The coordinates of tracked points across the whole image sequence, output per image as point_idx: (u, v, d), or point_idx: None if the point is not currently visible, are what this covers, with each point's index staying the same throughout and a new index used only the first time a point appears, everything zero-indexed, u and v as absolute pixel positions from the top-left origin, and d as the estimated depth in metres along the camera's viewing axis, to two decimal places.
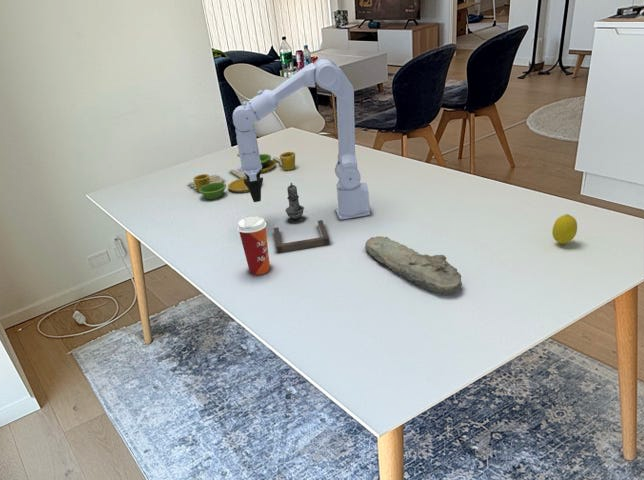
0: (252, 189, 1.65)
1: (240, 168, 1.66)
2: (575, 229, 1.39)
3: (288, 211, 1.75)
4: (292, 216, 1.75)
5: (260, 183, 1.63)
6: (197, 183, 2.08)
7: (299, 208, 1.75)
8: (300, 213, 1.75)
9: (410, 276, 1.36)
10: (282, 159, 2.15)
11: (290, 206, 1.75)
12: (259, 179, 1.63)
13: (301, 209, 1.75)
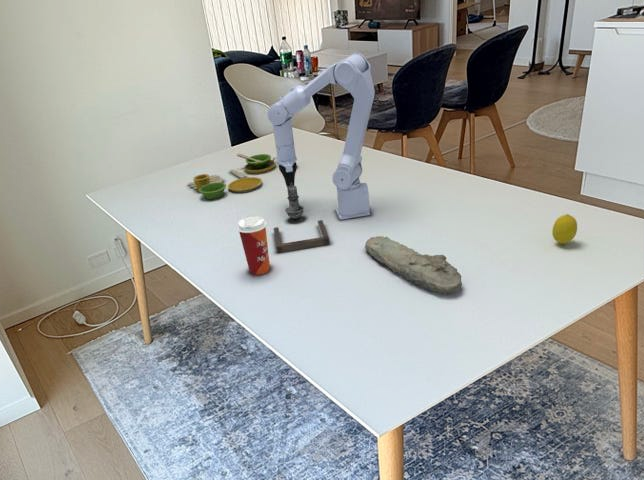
0: (286, 176, 1.78)
1: (276, 160, 1.75)
2: (575, 229, 1.39)
3: (288, 211, 1.75)
4: (292, 216, 1.75)
5: (294, 170, 1.75)
6: (197, 183, 2.08)
7: (299, 208, 1.75)
8: (300, 213, 1.75)
9: (410, 276, 1.36)
10: None
11: (290, 206, 1.75)
12: (293, 167, 1.75)
13: (301, 209, 1.75)
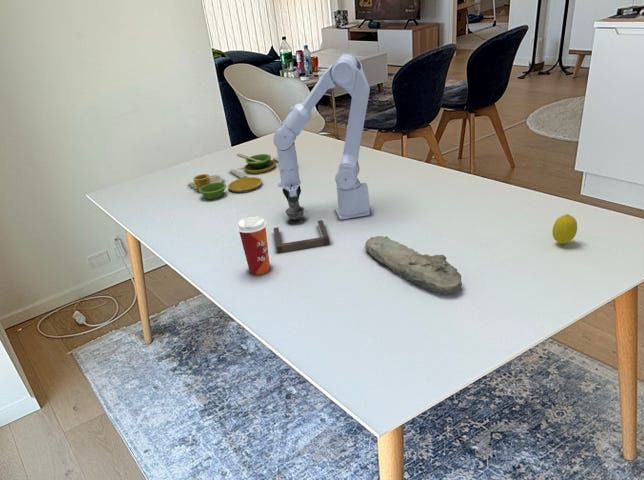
0: None
1: (280, 184, 1.74)
2: (575, 229, 1.39)
3: (288, 212, 1.75)
4: (292, 217, 1.75)
5: (298, 194, 1.75)
6: (197, 183, 2.08)
7: (299, 209, 1.74)
8: (300, 214, 1.75)
9: (410, 276, 1.36)
10: None
11: (290, 207, 1.74)
12: (297, 190, 1.74)
13: (301, 210, 1.74)
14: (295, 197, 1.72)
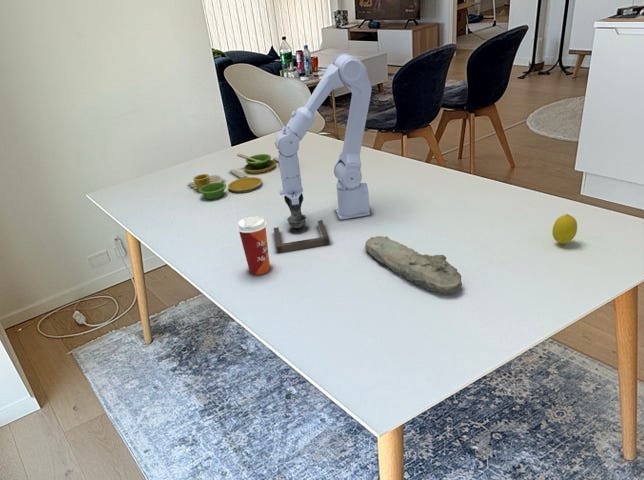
0: None
1: (281, 191, 1.69)
2: (575, 229, 1.39)
3: (290, 221, 1.69)
4: (294, 226, 1.69)
5: (300, 202, 1.69)
6: (197, 183, 2.08)
7: (301, 218, 1.69)
8: (302, 223, 1.69)
9: (410, 276, 1.36)
10: None
11: (292, 215, 1.69)
12: (299, 198, 1.69)
13: (303, 219, 1.69)
14: (297, 205, 1.67)
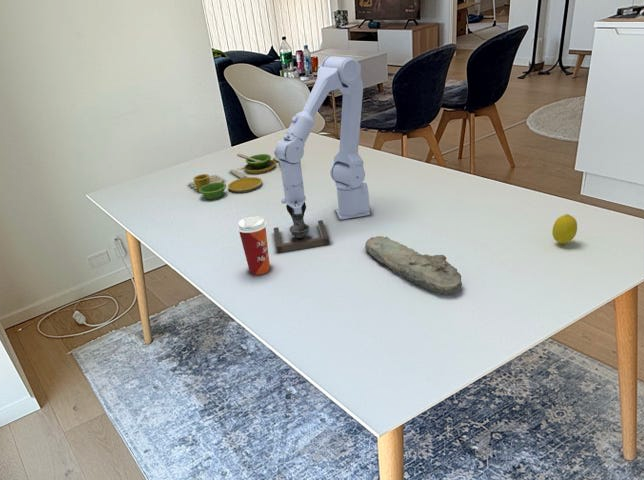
0: None
1: (283, 200, 1.63)
2: (575, 229, 1.39)
3: (292, 230, 1.63)
4: (297, 235, 1.63)
5: (303, 211, 1.64)
6: (197, 183, 2.08)
7: (304, 227, 1.63)
8: (305, 233, 1.63)
9: (410, 276, 1.36)
10: None
11: (294, 225, 1.63)
12: (302, 207, 1.63)
13: (306, 228, 1.63)
14: (300, 214, 1.61)
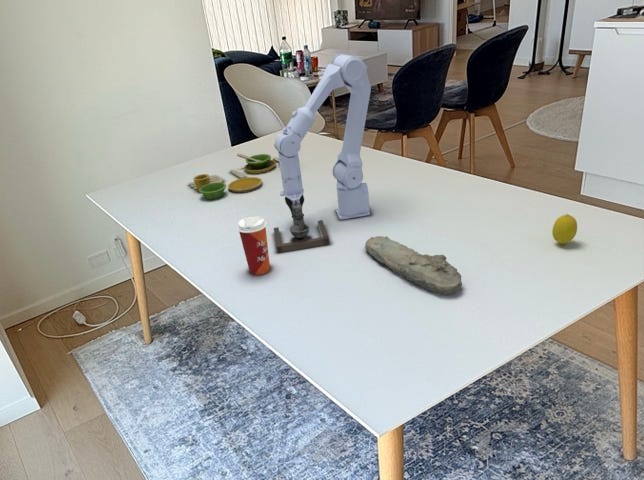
0: None
1: (282, 192, 1.67)
2: (575, 229, 1.39)
3: (292, 230, 1.63)
4: (297, 236, 1.63)
5: (301, 203, 1.67)
6: (197, 183, 2.08)
7: (304, 227, 1.63)
8: (305, 233, 1.63)
9: (410, 276, 1.36)
10: None
11: (294, 225, 1.63)
12: (300, 199, 1.67)
13: (306, 228, 1.63)
14: (300, 214, 1.61)
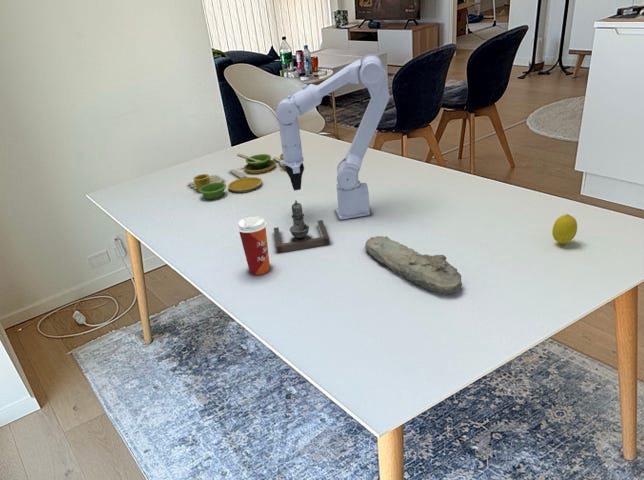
0: (293, 178, 1.71)
1: (282, 161, 1.68)
2: (575, 229, 1.39)
3: (292, 230, 1.63)
4: (297, 236, 1.63)
5: (301, 172, 1.68)
6: (197, 183, 2.08)
7: (304, 227, 1.63)
8: (305, 233, 1.63)
9: (410, 276, 1.36)
10: (282, 159, 2.15)
11: (294, 225, 1.63)
12: (300, 168, 1.68)
13: (306, 228, 1.63)
14: (300, 214, 1.61)
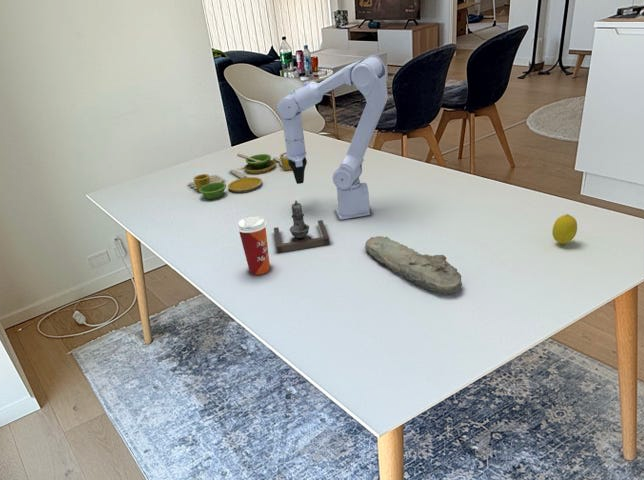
0: (296, 171, 1.75)
1: (285, 155, 1.72)
2: (575, 229, 1.39)
3: (292, 230, 1.63)
4: (297, 236, 1.63)
5: (304, 165, 1.73)
6: (197, 183, 2.08)
7: (304, 227, 1.63)
8: (305, 233, 1.63)
9: (410, 276, 1.36)
10: (282, 159, 2.15)
11: (294, 225, 1.63)
12: (303, 161, 1.72)
13: (306, 228, 1.63)
14: (300, 214, 1.61)
